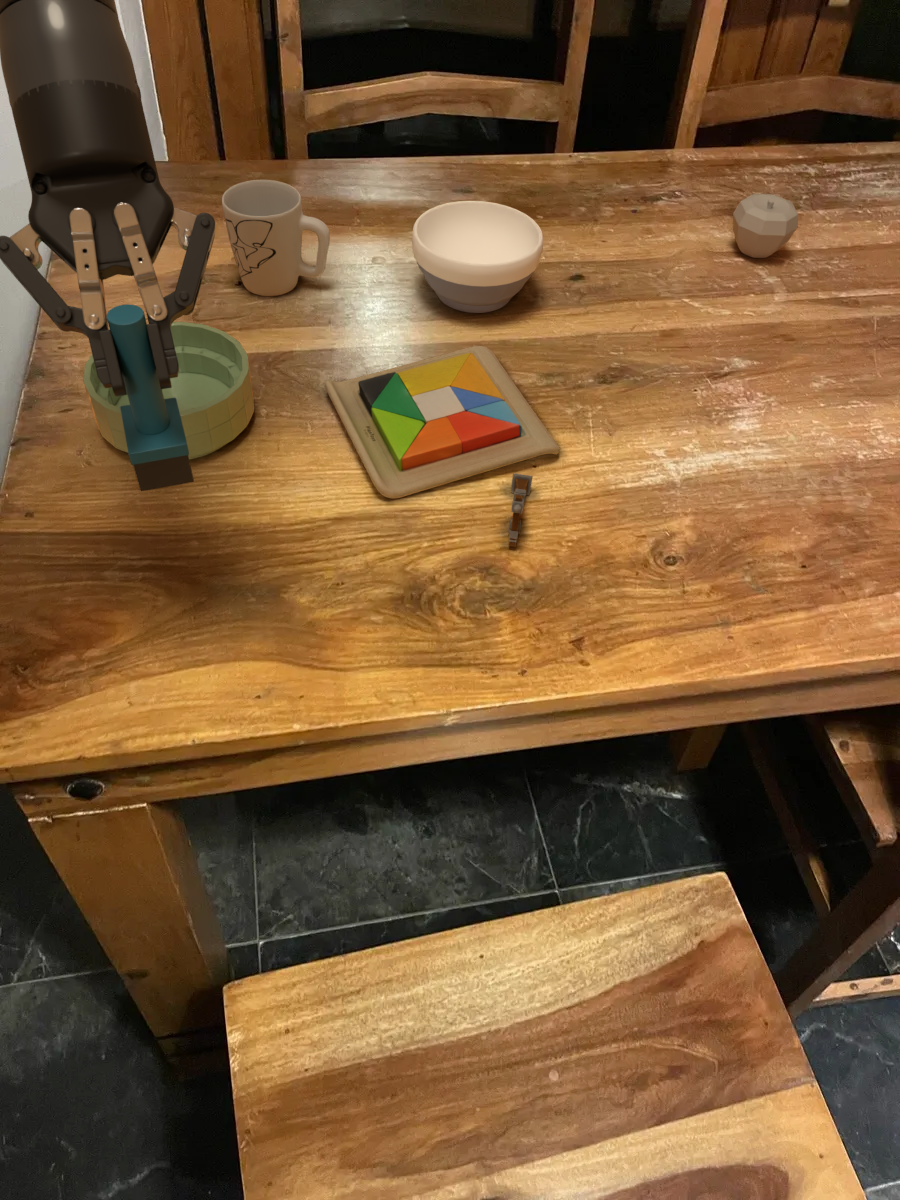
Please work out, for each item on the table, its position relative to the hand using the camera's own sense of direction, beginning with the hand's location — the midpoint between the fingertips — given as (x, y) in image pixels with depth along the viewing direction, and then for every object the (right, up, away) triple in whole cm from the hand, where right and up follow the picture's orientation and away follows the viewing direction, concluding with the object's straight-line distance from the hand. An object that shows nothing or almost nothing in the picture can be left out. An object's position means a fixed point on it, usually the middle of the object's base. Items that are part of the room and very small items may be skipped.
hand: (143, 389), depth 58 cm
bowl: (+22, +22, +50) cm, 59 cm away
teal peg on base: (-1, -4, +7) cm, 8 cm away
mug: (0, +23, +49) cm, 54 cm away
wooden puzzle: (+18, +4, +34) cm, 39 cm away
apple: (+58, +31, +59) cm, 88 cm away
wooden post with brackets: (+25, -6, +26) cm, 37 cm away
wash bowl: (-7, +4, +32) cm, 34 cm away
